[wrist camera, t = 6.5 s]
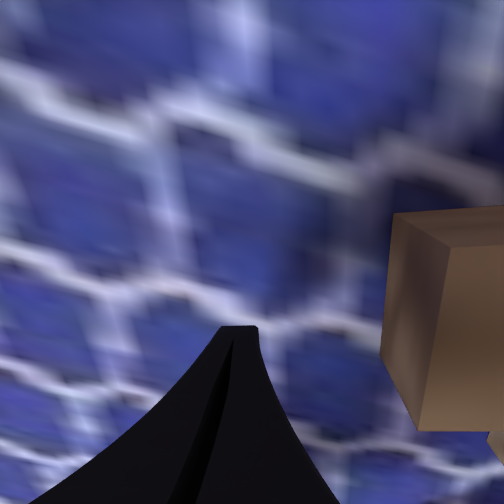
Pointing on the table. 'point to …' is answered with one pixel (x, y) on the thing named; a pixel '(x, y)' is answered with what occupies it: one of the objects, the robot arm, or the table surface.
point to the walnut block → (447, 317)
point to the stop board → (497, 444)
